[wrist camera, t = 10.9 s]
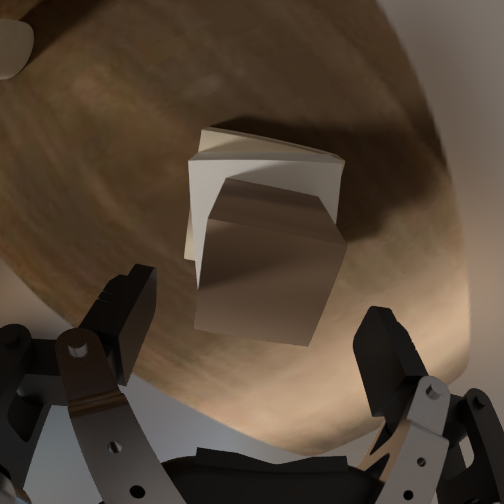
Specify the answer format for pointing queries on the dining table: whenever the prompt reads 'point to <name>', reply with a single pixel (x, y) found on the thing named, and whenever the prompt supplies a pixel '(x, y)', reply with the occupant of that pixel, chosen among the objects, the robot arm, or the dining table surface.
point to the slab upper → (258, 181)
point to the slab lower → (242, 142)
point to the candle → (14, 46)
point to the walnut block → (267, 264)
